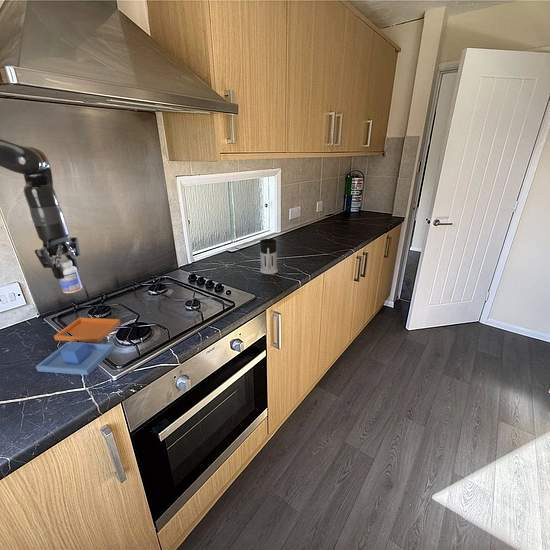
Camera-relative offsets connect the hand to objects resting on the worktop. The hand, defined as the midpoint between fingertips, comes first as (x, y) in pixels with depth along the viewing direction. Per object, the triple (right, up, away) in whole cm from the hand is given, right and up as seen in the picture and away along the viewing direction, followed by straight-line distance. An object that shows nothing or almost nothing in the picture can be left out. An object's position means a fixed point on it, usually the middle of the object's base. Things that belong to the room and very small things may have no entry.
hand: (67, 274), depth 92 cm
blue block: (+9, -24, -8) cm, 27 cm away
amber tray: (+4, -19, +5) cm, 20 cm away
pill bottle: (0, -5, +2) cm, 6 cm away
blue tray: (+9, -25, -8) cm, 27 cm away
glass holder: (+62, +1, +48) cm, 79 cm away
